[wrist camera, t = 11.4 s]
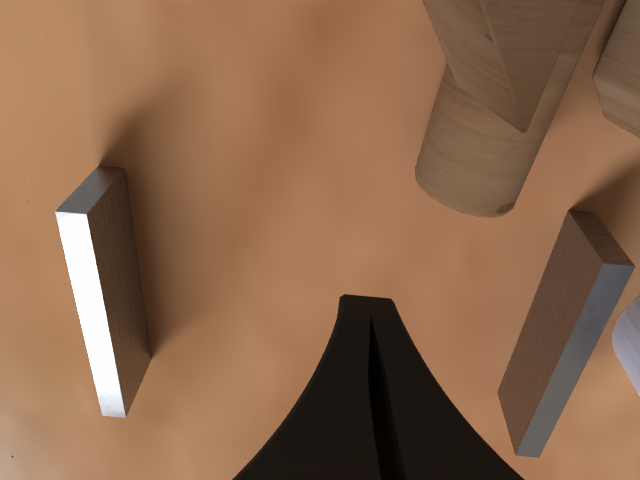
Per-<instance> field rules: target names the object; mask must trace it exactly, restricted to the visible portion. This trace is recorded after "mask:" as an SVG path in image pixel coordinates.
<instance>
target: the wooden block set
mask: <svg viewBox="0 0 640 480" xmlns="http://www.w3.org/2000/svg"><path fill="white" fill-rule="evenodd" d="M422 1H423V3H424V5H425V8H426V10H427V13H428V15H429V17H430V20H431V22H432V25H433V27H434V30H435V32H436V34H437V37H438V39H439V42H440V44H441V47H442V49H443V51H444V54H445V56H446V59H447V61H448V62H447V66H446V69H445V72H444V75H443V79H442V82H441V85H440V88H439V92H438V95H437V98H436V101H435V105H434V108H433V111H432V114H431V118H430V121H429V124H428V128H427V131H426V134H425V137H424V141H423V144H422V147H421V150H420V154H419V157H418V160H417V163H416V167H415V176H416V181H417V183H418V184H419V186H420V188H421V189H422V190H423V191H424V192H425V193H427V194H428V195H429V196H430V197H431V198H433V199H434V200H436V201H438V202H439V203H441V204H443V205H444V206H447V207H449V208H451V209H454V210H456V211H458V212H461V213H465V214H469V215H473V216H478V217H488V218H492V217H499V216H503V215H504V214H506V213H508V212H509V211H510V210H512V209H513V207H514V205H515V203H516V201H517V198H518V196H519V194H520V191H521V189H522V187H523V185H524V182H525V180H526V178H527V176H528V173H529V171H530V169H531V166H532V164H533V162H534V160H535V157H536V155H537V153H538V151H539V148H540V146H541V144H542V142H543V139H544V137H545V135H546V132H547V130H548V128H549V126H550V123H551V121H552V119H553V117H554V114H555V112H556V110H557V107H558V105H559V103H560V101H561V98H562V96H563V94H564V92H565V89H566V87H567V85H568V83H569V80H570V78H571V76H572V73H573V71H574V69H575V67H576V64H577V62H578V60H579V58H580V55H581V53H582V51H583V48H584V46H585V44H586V42H587V39H588V37H589V35H590V33H591V30H592V28H593V26H594V24H595V21H596V19H597V17H598V14H599V12H600V10H601V8H602V5H603V3H604V1H605V0H422ZM593 80H594V84H595V87H596V91H597V94H598V97H599V101H600V104H601V108H602V111H603V114H604V116H605V118H606V119H607V120H609V121H611V122H613V123H614V124H616V125H618V126H620V127H621V128H623V129H625V130H627V131H628V132H630V133H632V134H634V135H635V136H637V137H639V138H640V0H626V1H625V4H624V6H623V8H622V10H621V12H620V14H619V17H618V19H617V21H616V23H615V25H614V28H613V30H612V32H611V34H610V36H609V38H608V41H607V43H606V45H605V47H604V49H603V51H602V54H601V56H600V58H599V60H598V62H597V64H596V67H595V69H594V71H593Z"/></svg>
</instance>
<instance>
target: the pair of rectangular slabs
mask: <svg viewBox="0 0 640 480" xmlns="http://www.w3.org/2000/svg"><path fill="white" fill-rule="evenodd" d="M55 213H56V217H57V221H58V226H59V230H60V234H61V239H62V243H63V247H64V252H65V256H66V260H67V265H68V269H69V273H70V278H71V282H72V286H73V291H74V295H75V299H76V304H77V308H78V312H79V317H80V321H81V325H82V330H83V334H84V338H85V343H86V347H87V351H88V356H89V360H90V364H91V369H92V373H93V377H94V381H95V386H96V390H97V394H98V399H99V403H100V407H101V412H102V415H103V416H113V417H124V418H126V416H127V414H128V412H129V409H130V407H131V405H132V403H133V400H134V398H135V396H136V393H137V391H138V389H139V387H140V384H141V382H142V380H143V377H144V375H145V373H146V371H147V368H148V366H149V364H150V362H151V354H150V347H149V339H148V332H147V325H146V318H145V311H144V304H143V297H142V289H141V282H140V275H139V268H138V261H137V254H136V247H135V240H134V232H133V225H132V218H131V211H130V204H129V197H128V190H127V182H126V175H125V169H120V168H109V167H99V166H98V167H97V168H96V169H95V170H94V171H93V172H92V173H91V174H90V175H89V176H88V177H87V178H86V179H85V181H84V182H83V183H82V184H81V185H80V186H79V187H78V188H77V189H76V190H75V191H74V192H73V193H72V194H71V195H70V196H69V197H68V198H67V200H66V201H65V202H64V203H63V204H62V205H61V206H60V207H59V208H58V209H57V210H56V211H55ZM634 268H635V266H634V264H633V263H632V262H631V260H630V259H629V258H628V256H627V255H626V254H625V252H624V251H623V250H622V248H621V247H620V246H619V244H618V243H617V242H616V240H615V239H614V238H613V236H612V235H611V234H610V232H609V231H608V230H607V228H606V227H605V226H604V224H603V223H602V222H601V220H600V219H599V218H598V216H597V215H596V214H595V213H586V212H575V211H568V213H567V215H566V218H565V220H564V223H563V226H562V228H561V231H560V233H559V236H558V238H557V241H556V244H555V246H554V249H553V251H552V254H551V256H550V259H549V262H548V264H547V267H546V269H545V272H544V275H543V277H542V280H541V282H540V285H539V287H538V290H537V293H536V295H535V298H534V300H533V303H532V305H531V308H530V311H529V313H528V316H527V318H526V321H525V323H524V326H523V329H522V331H521V334H520V336H519V339H518V342H517V344H516V347H515V349H514V352H513V354H512V357H511V360H510V362H509V365H508V367H507V370H506V372H505V375H504V378H503V380H502V383H501V385H500V388H499V390H498V396H499V400H500V403H501V407H502V410H503V414H504V417H505V421H506V424H507V428H508V431H509V435H510V438H511V442H512V445H513V449H514V452H515V455H517V456H528V457H538V458H539V457H540V455H541V453H542V451H543V449H544V447H545V445H546V443H547V441H548V439H549V437H550V435H551V433H552V431H553V429H554V427H555V425H556V423H557V421H558V419H559V417H560V415H561V413H562V411H563V409H564V407H565V405H566V403H567V401H568V399H569V397H570V395H571V393H572V391H573V389H574V387H575V385H576V383H577V381H578V379H579V377H580V375H581V373H582V371H583V369H584V367H585V365H586V363H587V361H588V359H589V357H590V355H591V353H592V351H593V349H594V347H595V345H596V343H597V341H598V339H599V337H600V335H601V333H602V331H603V329H604V327H605V326H606V324H607V322H608V320H609V318H610V316H611V314H612V312H613V310H614V308H615V306H616V304H617V302H618V300H619V298H620V296H621V294H622V292H623V290H624V288H625V286H626V284H627V282H628V280H629V278H630V276H631V274H632V272H633V270H634Z"/></svg>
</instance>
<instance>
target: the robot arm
mask: <svg viewBox="0 0 640 480" xmlns="http://www.w3.org/2000/svg"><path fill="white" fill-rule="evenodd" d="M612 344H613V349H614V352H615V354H616V355H617V357H618V359H619V361H620V363H621V364H622V366H623V368H624V370H625V371H626V373H627V375H628V377H629V379H630V380H631V382H632V384H633V386H634V387H635V389H636V391H637V393H638V394H639V396H640V296H638V297H637V298H636V299H635V300H633V301H632V302H631V303H630V304H629V305H628V306H627V308H626V309H625V310H624V311H623V312H622V314H621V315H620V317H619V318H618V320H617V322H616V324H615V327H614V330H613V336H612ZM233 480H524V479H523V478H522V477H521V476H520V475H519V474H518V473H517V472H515V471H514V470H513V469H512V468H511V467H510V466H509V465H508V464H507V463H506V462H505V461H504V460H503V459H502V458H501V457H500V456H499V455H498V454H497V453H496V452H495V451H494V450H493V449H492V448H491V447H490V446H489V445H488V444H487V443H486V442H485V441H484V440H483V439H482V438H481V436H480V435H479V434H478V433H477V432H476V431H475V430H474V429H473V428H472V426H471V425H470V424H469V423H468V422H467V420H466V419H465V418H464V417H463V416H462V414H461V413H460V412H459V411H458V409H457V408H456V407H455V406H454V404H453V403H452V402H451V400H450V399H449V398H448V396H447V395H446V394H445V392H444V391H443V389H442V388H441V387H440V385H439V384H438V382H437V381H436V379H435V378H434V376H433V375H432V373H431V372H430V370H429V368H428V367H427V365H426V364H425V362H424V360H423V359H422V357H421V355H420V353H419V352H418V350H417V348H416V347H415V345H414V343H413V341H412V339H411V337H410V336H409V334H408V332H407V330H406V328H405V326H404V324H403V322H402V320H401V317H400V315H399V313H398V311H397V308H396V306H395V304H394V302H393V301H392V300H391V299H389V298H378V297H368V296H357V295H346V294H345V295H343V296H341V297H340V300H339V307H338V315H337V320H336V323H335V326H334V329H333V332H332V334H331V337H330V339H329V342H328V345H327V347H326V349H325V352H324V354H323V356H322V358H321V360H320V362H319V364H318V366H317V368H316V370H315V372H314V374H313V376H312V377H311V379H310V381H309V383H308V384H307V386H306V388H305V389H304V391H303V393H302V394H301V396H300V398H299V399H298V401H297V402H296V404H295V405H294V407H293V408H292V409H291V411H290V412H289V414H288V415H287V417H286V418H285V420H284V421H283V422H282V424H281V425H280V426H279V428H278V429H277V430H276V431H275V432H274V434H273V435H272V436H271V437H270V439H269V440H268V441H267V442H266V444H265V445H264V446H263V447H262V448H261V450H260V451H259V452H258V453H257V454H256V455H255V456H254V458H253V459H252V460H251V461H250V462H249V463H248V464H247V465H246V466H245V467H244V468H243V469H242V470H241V471H240V472H239V473H238V474H237V475H236V476H235V477H234V478H233Z"/></svg>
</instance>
